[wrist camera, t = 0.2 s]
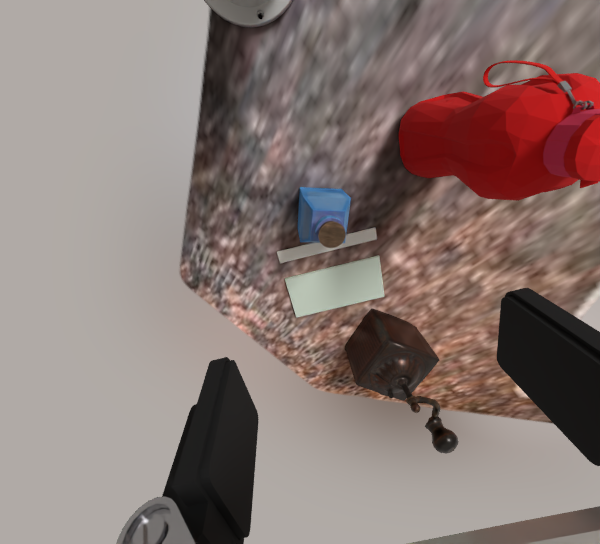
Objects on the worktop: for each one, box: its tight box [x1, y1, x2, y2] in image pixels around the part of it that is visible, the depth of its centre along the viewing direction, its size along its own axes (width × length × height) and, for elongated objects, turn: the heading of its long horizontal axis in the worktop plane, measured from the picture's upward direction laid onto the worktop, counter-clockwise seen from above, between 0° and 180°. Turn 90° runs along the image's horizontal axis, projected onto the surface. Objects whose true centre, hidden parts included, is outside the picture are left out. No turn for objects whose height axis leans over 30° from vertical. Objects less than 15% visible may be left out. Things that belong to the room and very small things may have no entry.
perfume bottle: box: [298, 187, 351, 248], centre depth 39 cm, size 6×6×12 cm
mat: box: [285, 255, 384, 318], centre depth 50 cm, size 8×16×1 cm, turn 103°
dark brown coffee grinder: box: [345, 309, 458, 453], centre depth 49 cm, size 16×11×18 cm
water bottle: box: [399, 61, 600, 200], centre depth 29 cm, size 9×11×25 cm
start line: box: [277, 227, 377, 263], centre depth 46 cm, size 2×16×1 cm, turn 104°
